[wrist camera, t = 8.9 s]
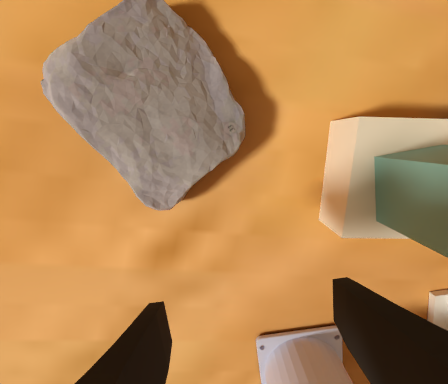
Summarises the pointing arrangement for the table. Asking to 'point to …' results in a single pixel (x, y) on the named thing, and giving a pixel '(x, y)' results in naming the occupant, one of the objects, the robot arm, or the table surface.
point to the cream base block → (367, 168)
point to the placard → (438, 308)
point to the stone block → (146, 99)
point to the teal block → (415, 195)
